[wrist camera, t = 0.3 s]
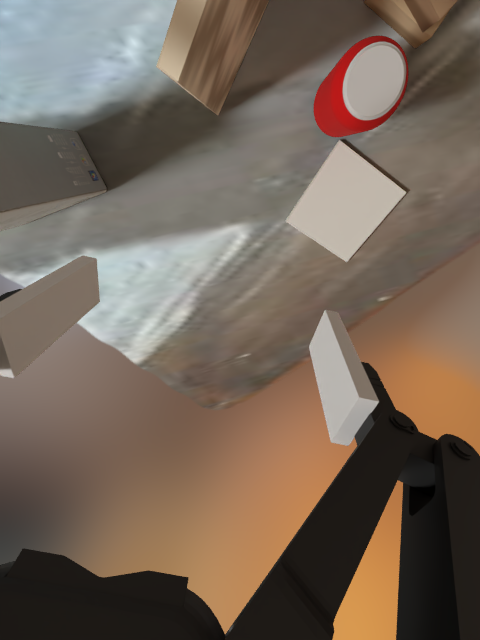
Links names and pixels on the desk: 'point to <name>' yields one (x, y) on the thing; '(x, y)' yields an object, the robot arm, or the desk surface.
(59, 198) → the hard drive box
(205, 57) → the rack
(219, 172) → the desk surface
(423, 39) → the offcut lower
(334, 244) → the felt pad
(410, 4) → the offcut upper
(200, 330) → the desk surface
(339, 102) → the beverage can
